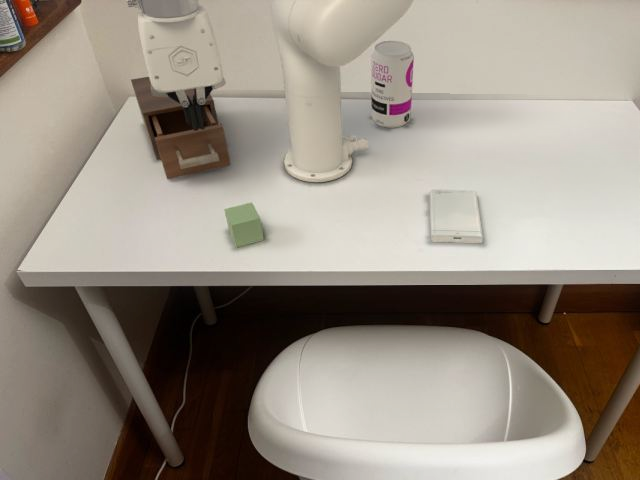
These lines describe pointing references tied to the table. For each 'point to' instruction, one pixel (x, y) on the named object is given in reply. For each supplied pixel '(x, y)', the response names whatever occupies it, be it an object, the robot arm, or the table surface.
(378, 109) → the white soda can
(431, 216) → the hard drive
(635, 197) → the table surface
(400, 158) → the table surface
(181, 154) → the drawer
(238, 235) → the block
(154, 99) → the cabinet
